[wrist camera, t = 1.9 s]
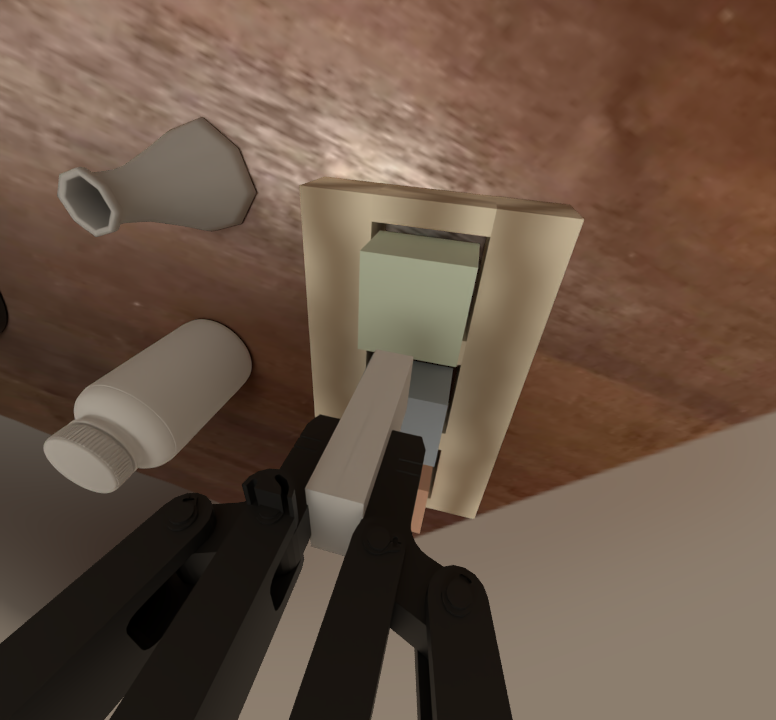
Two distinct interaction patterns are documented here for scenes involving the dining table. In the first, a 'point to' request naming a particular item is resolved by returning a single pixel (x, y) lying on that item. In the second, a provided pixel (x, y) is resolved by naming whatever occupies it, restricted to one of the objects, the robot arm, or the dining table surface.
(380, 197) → the panel
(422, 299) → the button sage
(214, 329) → the pill bottle
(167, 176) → the flask
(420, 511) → the button terracotta
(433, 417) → the button slate
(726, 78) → the dining table surface
